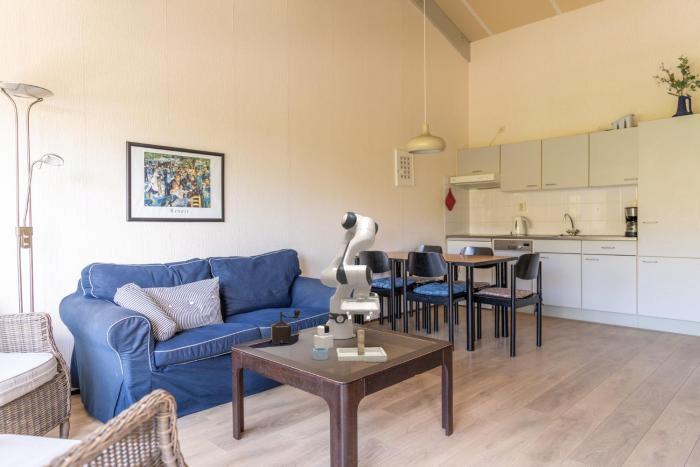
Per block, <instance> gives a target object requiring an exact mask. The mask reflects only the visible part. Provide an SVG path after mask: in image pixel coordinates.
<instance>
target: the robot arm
mask: <svg viewBox="0 0 700 467" xmlns="http://www.w3.org/2000/svg"><path fill="white" fill-rule="evenodd" d="M341 227H342V228H344V230H345V231H344V232H343V235H342V237H341V238H340V242H339V243H338V244H339V245H338V248H337V251H336V254H335V257H334V258H333V260H332V262H331V263H330V264H329V266H327V267H326V268H325V269H323V270H322V271H321V272H320V278H319V279H320V282H321V283H322V284H323V285H324V286H327V287H329V288H336V291H335V293H334V294H333V295H331V297H330V298H329V312H328V321H327V322H326V324H325V325H327V326H329V335H333V340H347V339H350V338H355V337H357V335H356V333H354V330H353V328H354V327H353V321H352V316H351V315H367V316H366V322H371V319H372V317H373V316H374V315H379V314H380V313H381V303H380V299H379V294H378V293H376V292H372V291H371V289H372V284H373V280H374V271H373V269H372V268H371V267H370V266H369V265H363V264H358V265H357V264H355V265H354V264H353V263H354V262H355V260H356V256H357V254H358V253H362V252H365V251H367V250H370V249H371V248H372V247H373V246H374V244H375V240H376V235H377V234H378V231H379V225H378V223H377V222H376V221H375V220H374V219H373V218H372V217H369V216H363V215H360V214H357V213H355V212H353V211H348V212H346V213H344V214H343V216H342V219H341ZM352 293H353V294H352ZM351 294H352V296H351ZM368 315H369V316H368Z"/></svg>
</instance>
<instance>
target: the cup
mask: <svg viewBox="0 0 700 467" xmlns="http://www.w3.org/2000/svg"><path fill="white" fill-rule="evenodd" d="M312 360H315V361H325V360H329V349H328V348H314V347H313V348H312Z"/></svg>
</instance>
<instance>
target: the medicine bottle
mask: <svg viewBox="0 0 700 467" xmlns="http://www.w3.org/2000/svg"><path fill="white" fill-rule="evenodd" d="M316 330H317V333H316V334H314V335H313V349H314V348H328V350H329V349H332V348H334V339H333V335H329V326H327V325H326V324H321V325H318V326H317V329H316Z"/></svg>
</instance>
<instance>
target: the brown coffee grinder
mask: <svg viewBox="0 0 700 467" xmlns="http://www.w3.org/2000/svg"><path fill="white" fill-rule="evenodd" d="M301 313H302V312H301V310H300V309H298V308H297V309H296V308H295V309H294V310H293V316H292V315H284V314H283V311H280V312H279V319H280V320H279V321H276V322H275V323H271V324H270V340H271V339H272V342H291V343H292V326H291V323H290V322H286V321H284V320H282V319H283V318H289V319H293V320H296V319H299V316H300V315H301Z"/></svg>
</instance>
